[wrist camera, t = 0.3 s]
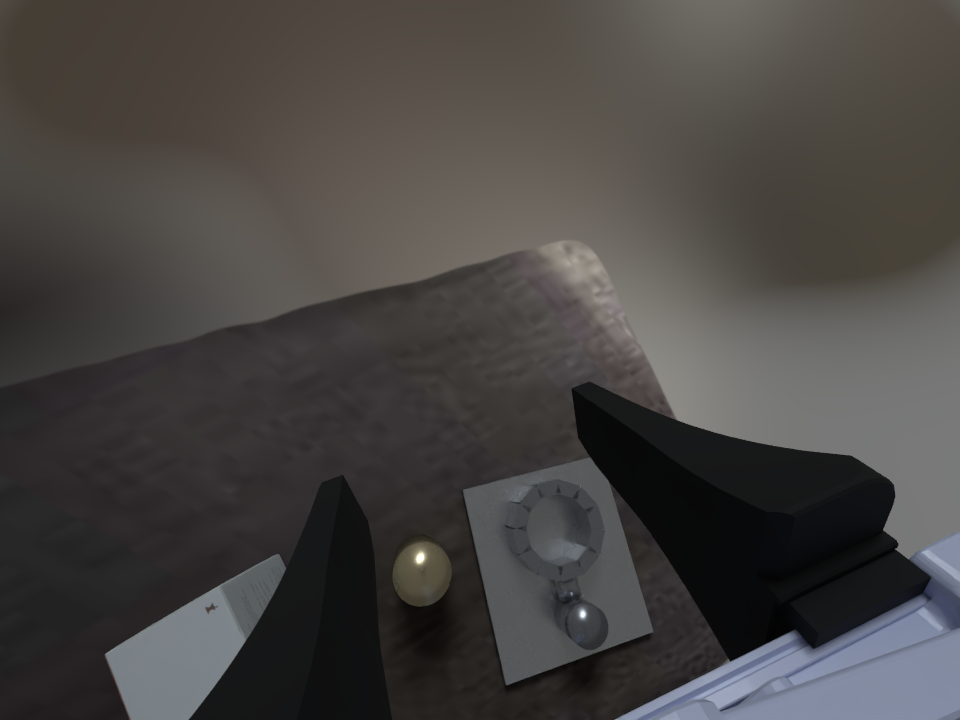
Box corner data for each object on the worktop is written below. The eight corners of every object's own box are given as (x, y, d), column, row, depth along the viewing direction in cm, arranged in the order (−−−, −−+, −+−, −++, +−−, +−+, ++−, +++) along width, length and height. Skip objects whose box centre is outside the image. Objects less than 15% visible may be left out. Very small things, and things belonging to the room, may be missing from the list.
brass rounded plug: (449, 580, 39) (457, 596, 34) (399, 595, 38) (398, 614, 33) (438, 529, 40) (444, 535, 35) (389, 542, 39) (387, 551, 34)
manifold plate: (648, 629, 41) (679, 646, 36) (503, 681, 38) (518, 707, 33) (597, 455, 45) (619, 451, 40) (461, 489, 42) (469, 490, 37)
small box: (202, 596, 36) (99, 652, 24) (280, 551, 38) (221, 582, 25) (244, 694, 35) (158, 807, 22) (322, 643, 36) (282, 722, 24)
